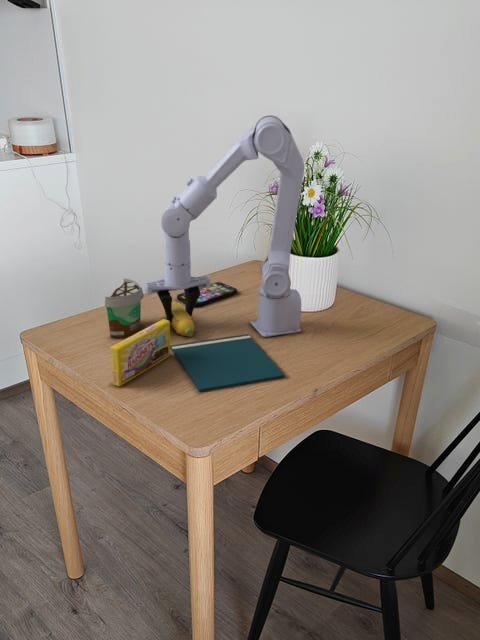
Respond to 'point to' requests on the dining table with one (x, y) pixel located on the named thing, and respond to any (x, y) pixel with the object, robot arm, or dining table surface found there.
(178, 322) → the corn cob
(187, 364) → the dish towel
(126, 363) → the candy box
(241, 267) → the dining table surface
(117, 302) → the food container
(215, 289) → the smartphone
